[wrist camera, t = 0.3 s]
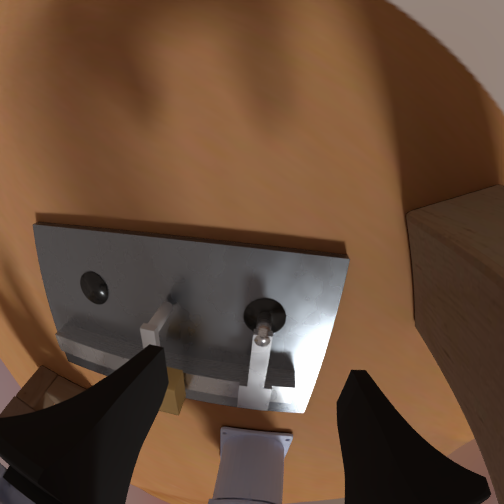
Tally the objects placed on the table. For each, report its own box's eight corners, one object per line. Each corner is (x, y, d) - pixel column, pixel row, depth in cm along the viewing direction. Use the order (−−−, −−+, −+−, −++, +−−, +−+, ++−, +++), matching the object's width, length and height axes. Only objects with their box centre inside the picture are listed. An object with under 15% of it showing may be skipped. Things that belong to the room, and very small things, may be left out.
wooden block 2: (41, 363, 27) (-25, 446, 11) (100, 394, 27) (38, 501, 10) (48, 380, 29) (-11, 460, 12) (106, 410, 28) (52, 510, 12)
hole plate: (303, 406, 24) (304, 435, 20) (71, 357, 25) (56, 375, 22) (347, 254, 18) (360, 277, 15) (38, 221, 19) (12, 233, 16)
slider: (191, 381, 22) (178, 415, 18) (159, 373, 22) (143, 406, 18) (186, 304, 19) (167, 338, 15) (148, 297, 19) (123, 328, 15)
